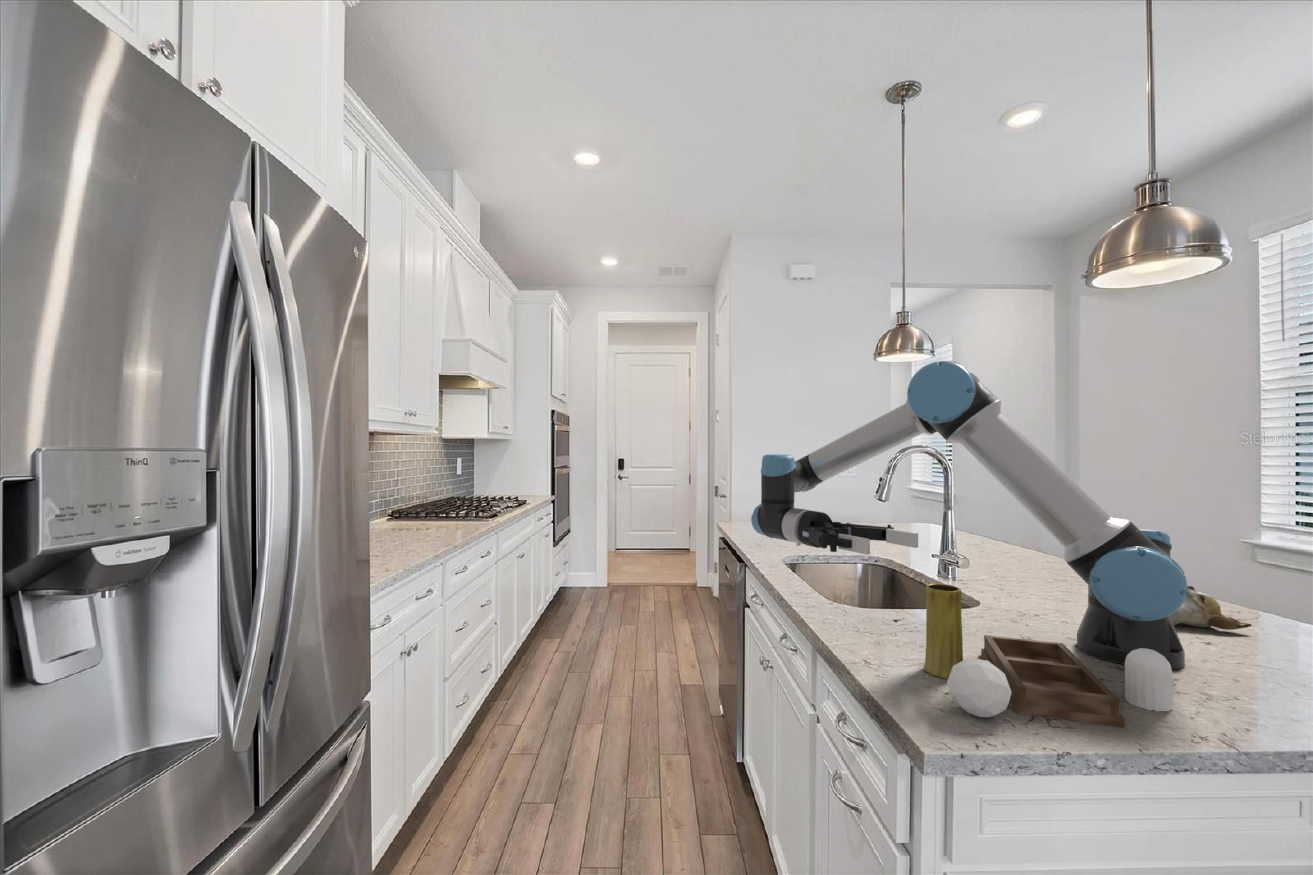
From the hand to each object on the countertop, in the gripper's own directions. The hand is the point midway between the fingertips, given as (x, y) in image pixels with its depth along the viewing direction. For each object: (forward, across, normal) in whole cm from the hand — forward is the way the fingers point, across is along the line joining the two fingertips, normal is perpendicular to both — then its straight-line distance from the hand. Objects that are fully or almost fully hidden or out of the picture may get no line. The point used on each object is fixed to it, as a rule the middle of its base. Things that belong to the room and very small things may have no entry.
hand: (893, 543), depth 103 cm
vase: (+10, 0, -20) cm, 23 cm away
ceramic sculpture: (+21, -69, -20) cm, 75 cm away
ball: (+21, +9, -20) cm, 31 cm away
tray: (+21, -9, -20) cm, 30 cm away
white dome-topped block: (+32, -16, -20) cm, 41 cm away
